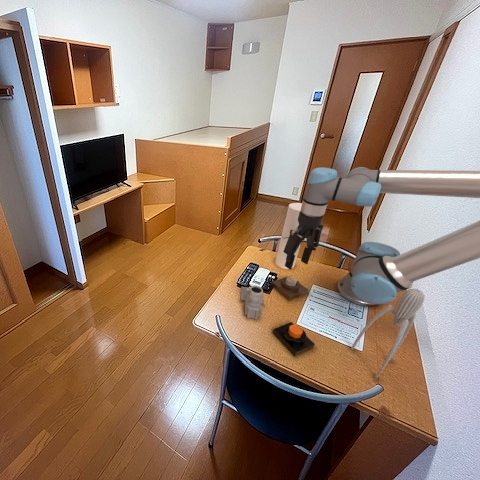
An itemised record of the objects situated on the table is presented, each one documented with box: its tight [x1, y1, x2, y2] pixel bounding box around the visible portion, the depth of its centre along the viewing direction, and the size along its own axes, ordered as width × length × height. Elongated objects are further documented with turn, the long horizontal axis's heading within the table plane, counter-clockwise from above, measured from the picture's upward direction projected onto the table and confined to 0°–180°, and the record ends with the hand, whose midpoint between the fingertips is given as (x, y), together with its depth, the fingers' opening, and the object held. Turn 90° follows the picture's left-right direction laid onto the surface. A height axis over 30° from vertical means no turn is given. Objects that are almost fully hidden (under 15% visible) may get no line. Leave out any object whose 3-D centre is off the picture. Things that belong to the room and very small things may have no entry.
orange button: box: [288, 324, 304, 338], centre depth 86 cm, size 4×4×2 cm
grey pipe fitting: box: [239, 284, 264, 320], centre depth 100 cm, size 9×12×15 cm
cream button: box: [286, 275, 298, 286], centre depth 108 cm, size 4×4×2 cm
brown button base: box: [270, 275, 309, 302], centre depth 109 cm, size 10×10×4 cm
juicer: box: [350, 288, 426, 380], centre depth 73 cm, size 10×9×30 cm
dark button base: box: [272, 321, 316, 357], centre depth 88 cm, size 8×10×4 cm
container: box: [274, 202, 303, 270], centre depth 118 cm, size 9×9×30 cm
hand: (296, 264), depth 103 cm, fingers open, 8 cm apart
